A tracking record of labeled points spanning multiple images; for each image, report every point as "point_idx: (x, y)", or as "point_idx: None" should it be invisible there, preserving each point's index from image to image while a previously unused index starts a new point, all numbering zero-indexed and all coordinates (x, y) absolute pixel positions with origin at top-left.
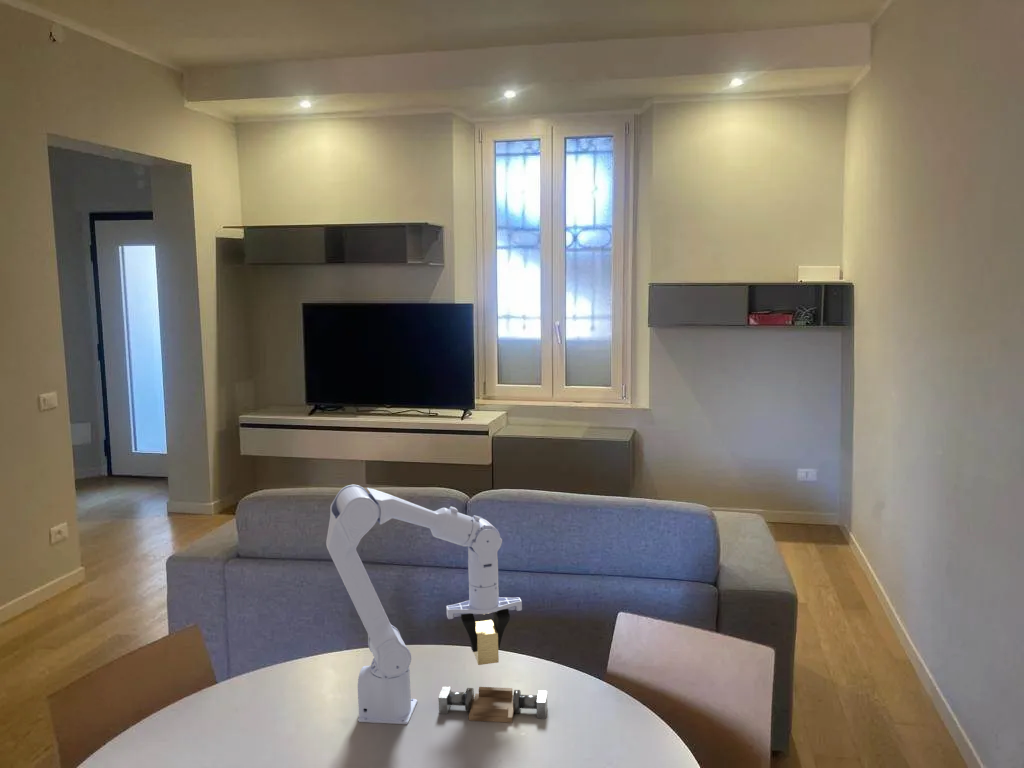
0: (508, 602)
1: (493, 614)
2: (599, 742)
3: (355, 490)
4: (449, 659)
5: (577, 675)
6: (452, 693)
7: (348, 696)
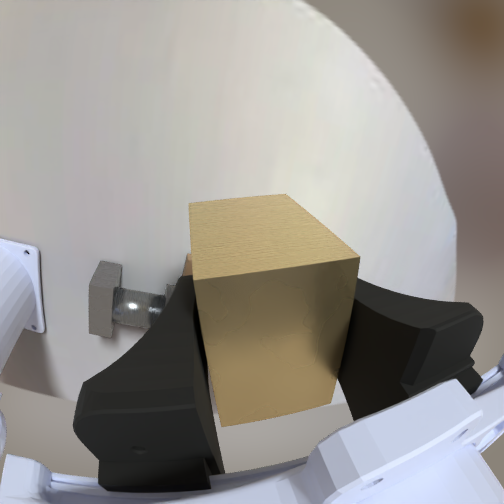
0: (482, 449)
1: (391, 328)
2: None
3: None
4: (127, 8)
5: (438, 185)
6: (122, 320)
7: None
